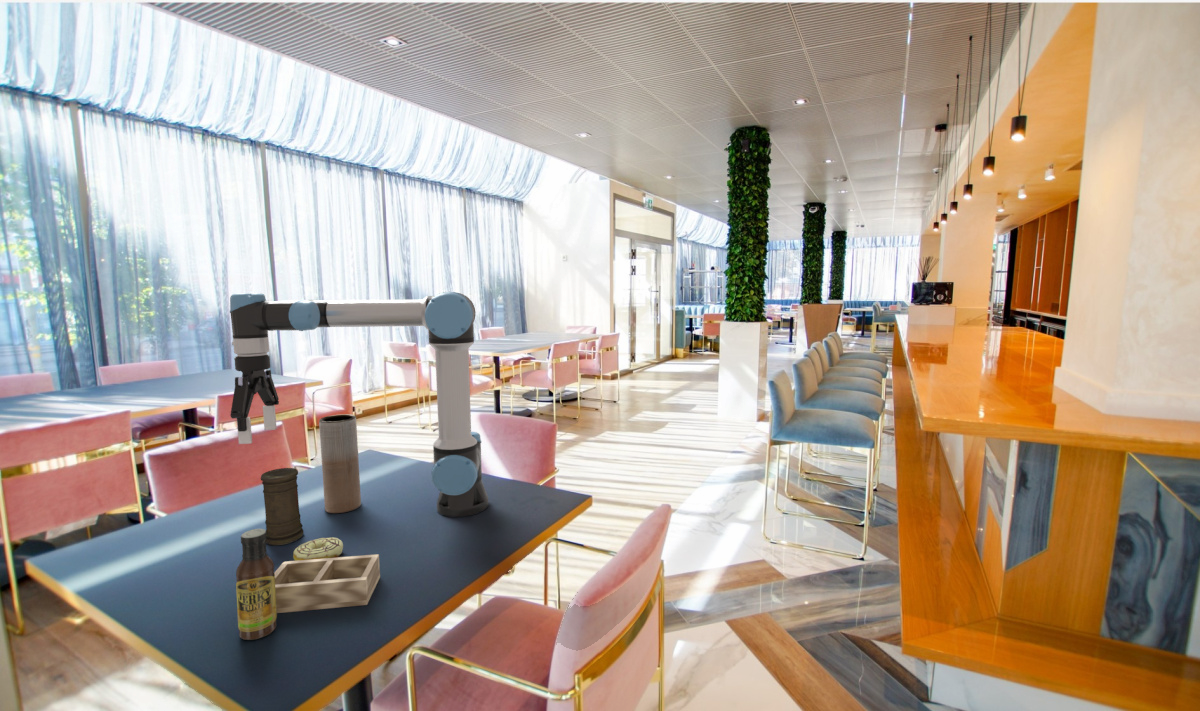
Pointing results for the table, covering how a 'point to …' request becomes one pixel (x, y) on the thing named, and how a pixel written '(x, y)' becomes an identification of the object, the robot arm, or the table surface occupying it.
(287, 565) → the caddy
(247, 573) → the sauce bottle
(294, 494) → the container
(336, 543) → the decorated donut
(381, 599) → the table surface
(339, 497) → the vase
